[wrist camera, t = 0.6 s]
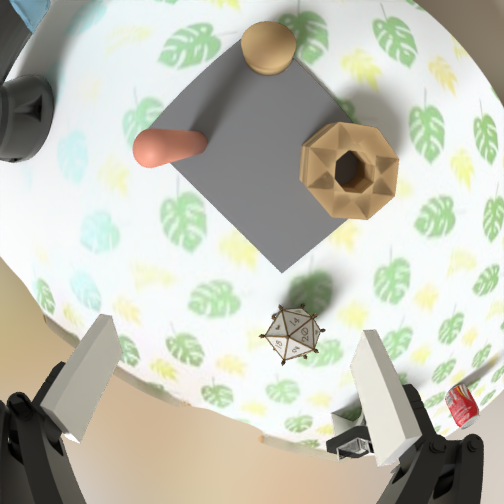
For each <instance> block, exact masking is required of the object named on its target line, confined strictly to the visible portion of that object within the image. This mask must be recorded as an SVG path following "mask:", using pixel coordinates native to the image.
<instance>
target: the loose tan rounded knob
mask: <svg viewBox="0 0 504 504" xmlns="http://www.w3.org/2000/svg"><path fill="white" fill-rule="evenodd" d="M241 46H242V50H243V54H244V58H245V62H246V64H247V66H248V67H249V68H250V69H251V70H252V71H253V72H255V73H257V74H259V75H263V76H274V75H278V74H280V73H282V72H284V71H285V70H286V69H287V68H288V67H289V65H290V63H291V60H292V58H293V55H294V52H295V49H296V39H295V37H294V35H293V33H292V32H291V31H290V30H289V29H288V28H287V27H286V26H284V25H282V24H280V23H277V22H271V21H265V22H259V23H256V24H254V25H252V26H251V27H249V28H248V29H247V30H246V31H245V32H244V34H243V36H242V39H241Z"/></svg>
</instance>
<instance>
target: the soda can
mask: <svg viewBox="0 0 504 504" xmlns="http://www.w3.org/2000/svg"><path fill="white" fill-rule="evenodd" d="M445 400H446V403H447V405H448V407H449V410H450V412H451V414H452V416H453V418H454V420H455V422H456V424H457V426H459V427H461V429H465V428H467V427H469V426H471V425H472V424H473V423H474V422H476V421H477V420H478V418H479V409H478V406H477V404H476V402H475V400H474V399H473V397H472V395H471V393H470V392H469V390H468V388H467V387H466V386H465V385H464V384H461V385H457V386H455V387H453V388H452V389H451V390H450V391H449V392H448V394H447V396H446V398H445Z"/></svg>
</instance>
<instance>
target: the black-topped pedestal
mask: <svg viewBox="0 0 504 504" xmlns="http://www.w3.org/2000/svg"><path fill="white" fill-rule="evenodd" d="M330 415H331V420H332V426H333V432H334V438H332V439H330V440H328V441H326V446H327V452H329V453H334V454H337V456H338V461H340V456H341V459H343V458H345V457H351V458H359V457H362V456H364V455H366V454H368V453H370V452H371V453H374V449H373V445H372V441H371V438H370V434H369V430H368V426H367V423H366V419H365V416H364V412H363V409H362V412H361V416H360V417H359V418H358V419H356V420H354V421H353V422H352V421H350V420H347V419H345V418H342V417H340V416H337V415H335V414H332V413H330ZM339 455H340V456H339ZM342 456H345V457H342Z"/></svg>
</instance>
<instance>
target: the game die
mask: <svg viewBox="0 0 504 504" xmlns="http://www.w3.org/2000/svg"><path fill="white" fill-rule="evenodd" d="M304 306H305V305H304V303H303V304H302V305H301V308H296V309H283V307H282V306H281V305H279V307H278V308H279V309H280V310H281V311H280V312H279V314H278V315H277V316H276V317H275V316H272V319H273V320H274V321H273V323H272V324H271V326H270V328H269V329H268V331H267V332H266V334H265V335H262V334H261V335H260V336H259V337H260V338H264V337H265V338H266V339H267V340H268V341H269V343H270V344H271V345H272V346H273V350H275V351H277V353H278V354H279V355H280V356H281V358H282V359H283V361H282V363H281V364H282V366H283V365H284V364H285V363H286V362H285V361H286V360H289V359H293V358H297V357H300V356H303V357H304V359H307V356H306V354H308V353H310V352H311V351H314V352H315V353H319V352H318V350H317V349H315V346H316V344H317V341H318V338H319V335H320V332H324V331H326V330H325V329H321V330H320V328H319V326H318V325H317V323H316V322H315V320H314V318H315V317H317V314H313V315H312V316H311V315H310V314H309V313H307V312H306V311H305V310H304V309H303V308H304Z"/></svg>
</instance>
